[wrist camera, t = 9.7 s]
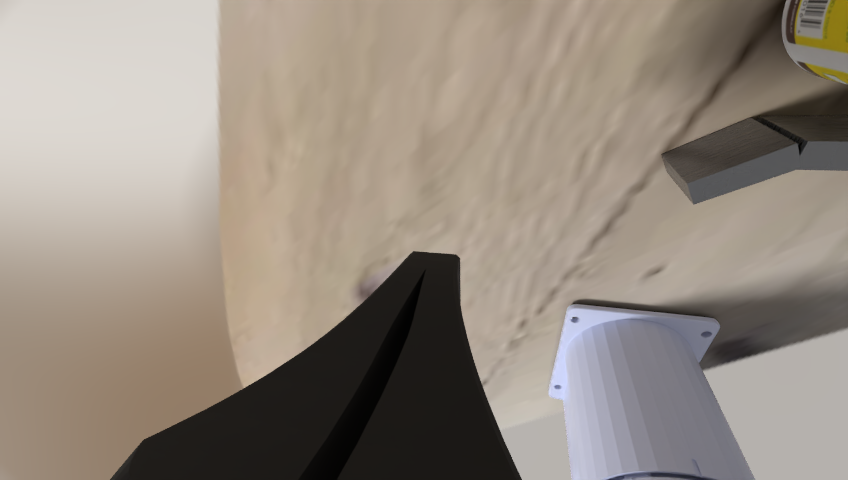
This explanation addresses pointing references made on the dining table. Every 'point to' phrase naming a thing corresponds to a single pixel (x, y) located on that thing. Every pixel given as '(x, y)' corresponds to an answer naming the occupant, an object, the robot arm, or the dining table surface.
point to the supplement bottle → (818, 36)
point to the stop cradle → (757, 153)
